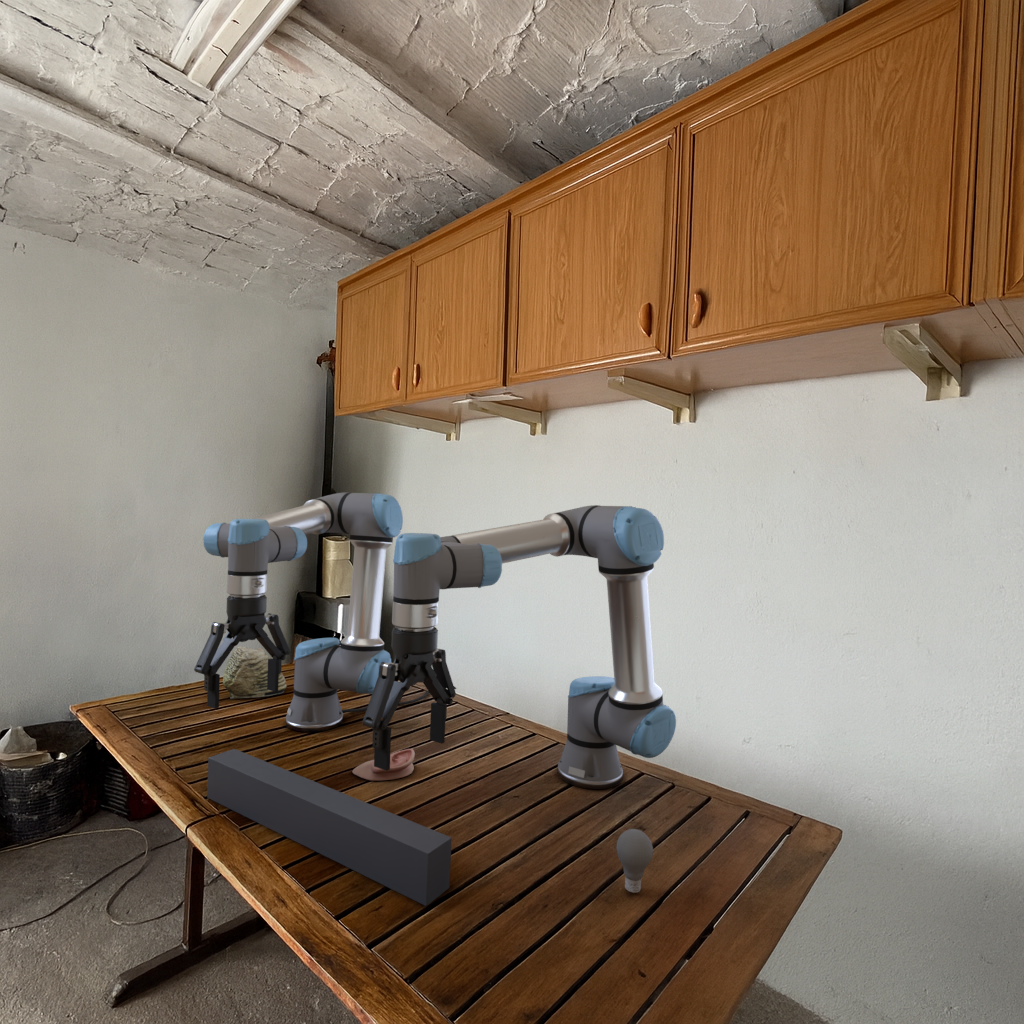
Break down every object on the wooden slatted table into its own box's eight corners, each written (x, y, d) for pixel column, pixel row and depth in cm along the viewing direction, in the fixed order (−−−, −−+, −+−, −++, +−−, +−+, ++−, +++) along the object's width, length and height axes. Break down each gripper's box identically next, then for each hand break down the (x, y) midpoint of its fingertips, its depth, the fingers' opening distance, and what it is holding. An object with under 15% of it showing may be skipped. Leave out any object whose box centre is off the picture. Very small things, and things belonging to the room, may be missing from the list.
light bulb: (610, 879, 108) (613, 822, 108) (644, 879, 109) (647, 822, 109) (619, 902, 102) (622, 840, 102) (655, 901, 103) (658, 840, 103)
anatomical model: (346, 759, 143) (368, 741, 154) (346, 777, 143) (367, 757, 154) (402, 767, 140) (420, 748, 152) (401, 785, 140) (419, 764, 152)
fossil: (218, 695, 195) (220, 647, 195) (278, 685, 208) (279, 640, 207) (228, 703, 189) (230, 653, 188) (289, 692, 201) (290, 645, 201)
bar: (206, 797, 131) (208, 757, 131) (233, 787, 136) (234, 748, 136) (426, 906, 99) (428, 853, 99) (449, 887, 104) (451, 837, 104)
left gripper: (199, 604, 116) (196, 719, 117) (309, 590, 137) (305, 687, 138) (176, 599, 120) (173, 710, 121) (286, 586, 141) (283, 680, 142)
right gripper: (377, 643, 92) (372, 787, 93) (477, 619, 113) (473, 736, 114) (341, 635, 96) (337, 773, 97) (444, 613, 117) (441, 727, 118)
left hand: (244, 698), depth 129 cm, fingers open, 13 cm apart
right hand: (411, 754), depth 105 cm, fingers open, 13 cm apart
